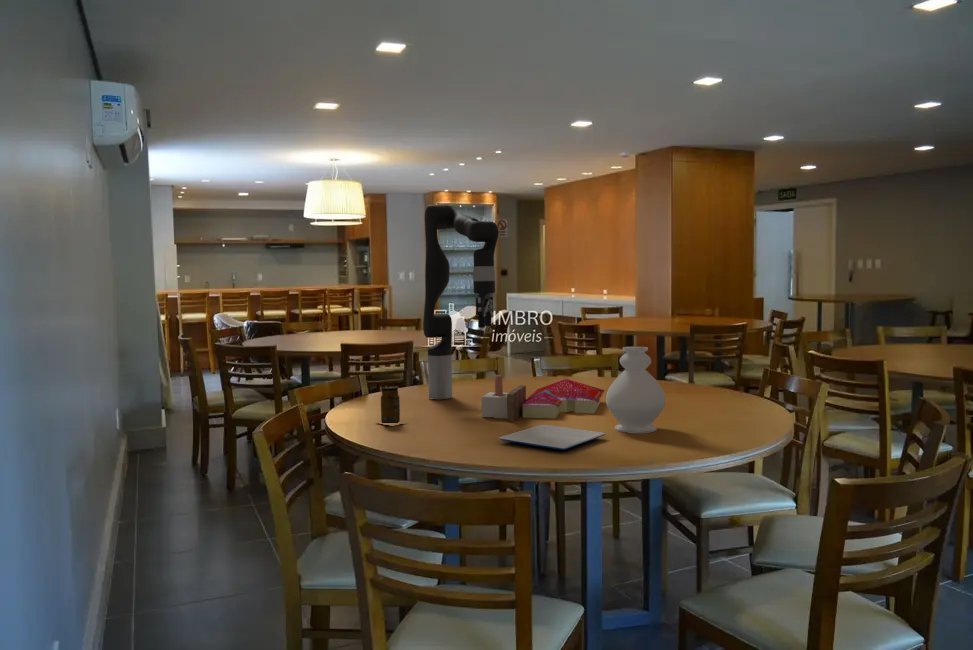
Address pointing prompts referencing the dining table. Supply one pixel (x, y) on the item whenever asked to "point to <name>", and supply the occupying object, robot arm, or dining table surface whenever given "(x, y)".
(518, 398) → the wall
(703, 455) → the dining table surface
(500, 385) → the dowel
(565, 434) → the plate
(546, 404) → the house model
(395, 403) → the condiment
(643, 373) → the decorative vase
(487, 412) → the block
